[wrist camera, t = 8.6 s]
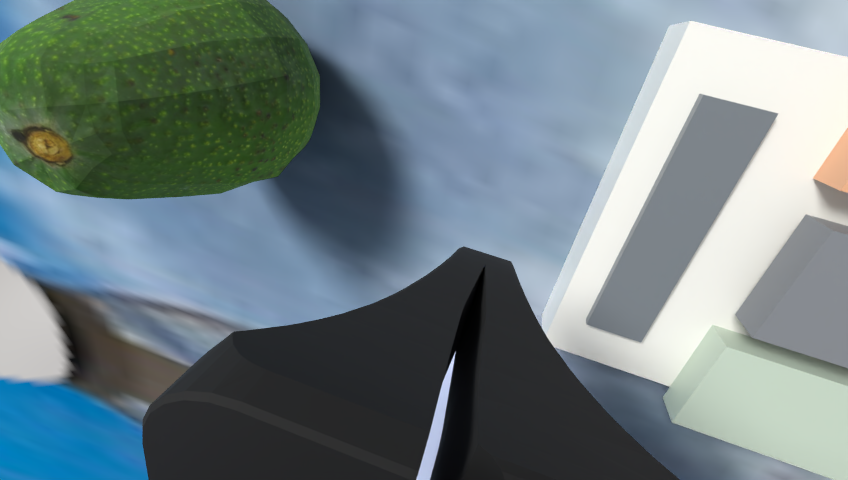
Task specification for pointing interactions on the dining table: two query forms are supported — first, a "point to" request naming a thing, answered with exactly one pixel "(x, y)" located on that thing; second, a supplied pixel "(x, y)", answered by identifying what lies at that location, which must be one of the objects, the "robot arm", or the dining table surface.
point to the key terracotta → (836, 166)
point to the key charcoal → (804, 294)
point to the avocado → (156, 97)
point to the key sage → (765, 401)
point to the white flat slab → (699, 197)
